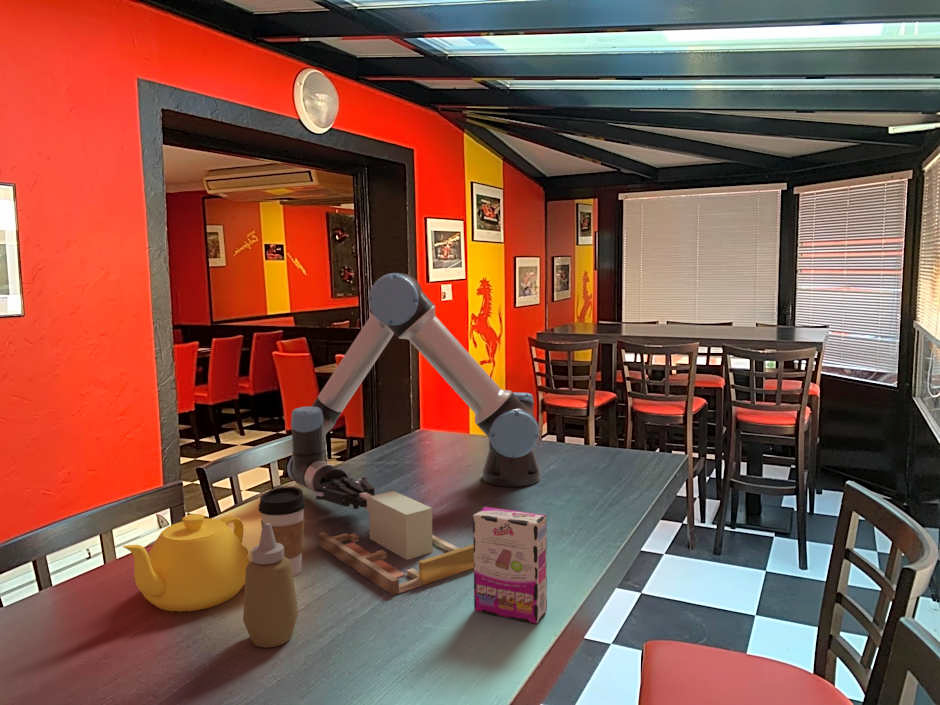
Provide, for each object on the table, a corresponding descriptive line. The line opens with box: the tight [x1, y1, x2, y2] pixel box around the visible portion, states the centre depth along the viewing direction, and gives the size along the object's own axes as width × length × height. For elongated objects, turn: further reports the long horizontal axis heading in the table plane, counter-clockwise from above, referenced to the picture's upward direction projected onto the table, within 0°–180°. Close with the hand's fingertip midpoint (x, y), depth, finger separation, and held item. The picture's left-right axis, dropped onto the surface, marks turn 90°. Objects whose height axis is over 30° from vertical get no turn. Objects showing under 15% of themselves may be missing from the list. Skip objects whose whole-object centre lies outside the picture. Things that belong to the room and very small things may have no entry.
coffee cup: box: [258, 486, 306, 577], centre depth 130 cm, size 8×8×15 cm
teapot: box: [122, 513, 250, 613], centre depth 122 cm, size 25×18×14 cm
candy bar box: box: [472, 506, 548, 624], centre depth 114 cm, size 11×5×16 cm, turn 65°
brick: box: [368, 490, 434, 561], centre depth 143 cm, size 14×6×9 cm, turn 39°
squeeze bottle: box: [242, 523, 299, 649], centre depth 107 cm, size 8×8×18 cm
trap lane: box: [318, 531, 474, 596], centre depth 138 cm, size 28×20×4 cm
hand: (377, 506), depth 148 cm, fingers closed
